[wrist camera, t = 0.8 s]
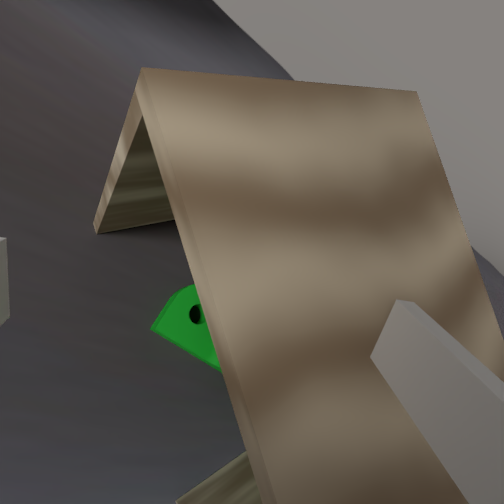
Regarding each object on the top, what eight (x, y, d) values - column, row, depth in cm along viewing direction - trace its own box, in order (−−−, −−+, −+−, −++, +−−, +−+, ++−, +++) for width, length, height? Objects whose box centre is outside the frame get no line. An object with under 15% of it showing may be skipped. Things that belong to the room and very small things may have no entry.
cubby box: (93, 223, 27) (141, 67, 11) (260, 194, 37) (416, 91, 21) (179, 512, 26) (376, 822, 10) (327, 403, 36) (547, 467, 19)
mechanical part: (275, 336, 34) (327, 339, 27) (251, 390, 31) (302, 408, 25) (185, 273, 30) (220, 258, 24) (149, 329, 28) (177, 329, 21)
